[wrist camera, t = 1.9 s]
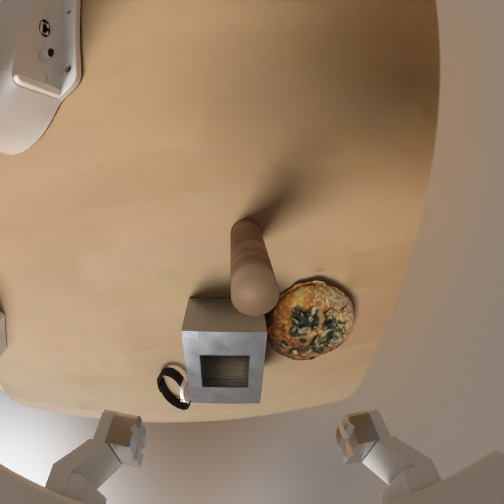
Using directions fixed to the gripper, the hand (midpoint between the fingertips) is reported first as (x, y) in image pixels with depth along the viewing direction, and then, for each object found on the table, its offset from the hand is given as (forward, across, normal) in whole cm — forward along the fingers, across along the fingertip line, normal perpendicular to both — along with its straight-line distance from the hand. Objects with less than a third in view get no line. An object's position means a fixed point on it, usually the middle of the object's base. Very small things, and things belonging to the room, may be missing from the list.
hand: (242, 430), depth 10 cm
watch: (+22, +8, +21) cm, 31 cm away
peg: (+21, -1, -2) cm, 21 cm away
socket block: (+21, +1, +12) cm, 24 cm away
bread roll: (+22, -9, +9) cm, 25 cm away
